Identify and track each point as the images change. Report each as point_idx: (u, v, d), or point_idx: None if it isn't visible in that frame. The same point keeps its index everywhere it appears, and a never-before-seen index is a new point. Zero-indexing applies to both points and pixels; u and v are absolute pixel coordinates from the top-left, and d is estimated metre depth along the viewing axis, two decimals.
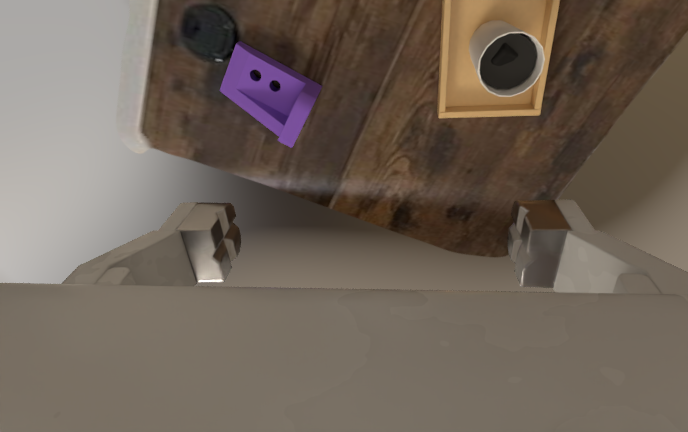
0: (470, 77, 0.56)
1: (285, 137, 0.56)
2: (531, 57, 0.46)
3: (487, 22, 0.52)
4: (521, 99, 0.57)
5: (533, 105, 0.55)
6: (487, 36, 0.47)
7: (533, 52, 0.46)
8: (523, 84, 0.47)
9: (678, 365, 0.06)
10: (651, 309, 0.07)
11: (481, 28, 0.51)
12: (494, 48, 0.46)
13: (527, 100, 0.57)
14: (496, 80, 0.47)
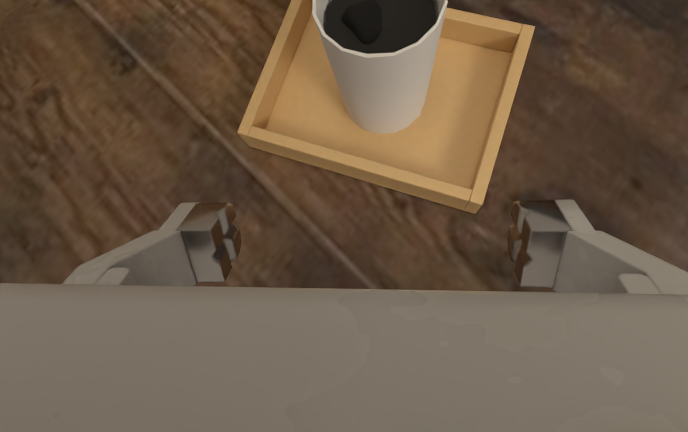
0: (426, 139, 0.30)
1: None
2: None
3: None
4: (498, 66, 0.30)
5: (512, 39, 0.29)
6: (328, 57, 0.24)
7: None
8: None
9: (678, 365, 0.06)
10: (651, 309, 0.07)
11: (343, 100, 0.30)
12: (343, 35, 0.23)
13: (504, 57, 0.31)
14: (409, 40, 0.22)
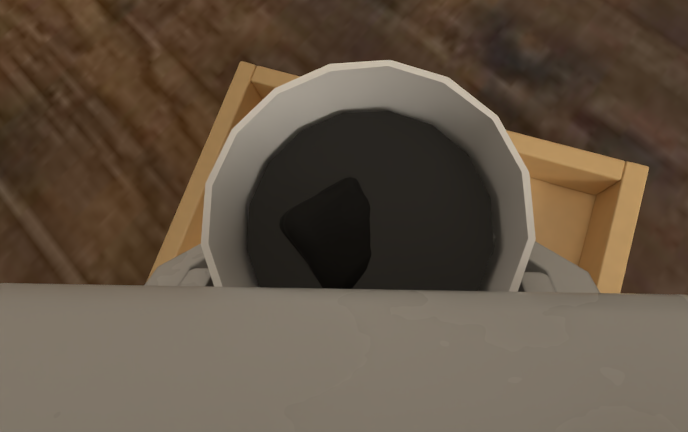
0: None
1: None
2: (383, 128, 0.10)
3: None
4: (574, 219, 0.18)
5: (605, 183, 0.16)
6: None
7: (365, 118, 0.11)
8: (493, 177, 0.10)
9: (678, 365, 0.06)
10: (651, 309, 0.07)
11: None
12: (284, 266, 0.10)
13: (582, 202, 0.18)
14: None
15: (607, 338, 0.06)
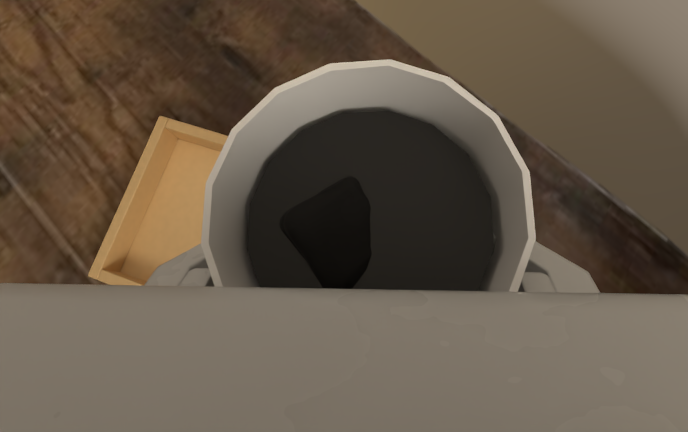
0: None
1: None
2: (383, 128, 0.10)
3: None
4: None
5: None
6: None
7: (365, 118, 0.11)
8: (493, 177, 0.10)
9: (678, 365, 0.06)
10: (651, 309, 0.07)
11: None
12: (284, 265, 0.10)
13: None
14: None
15: (607, 338, 0.06)
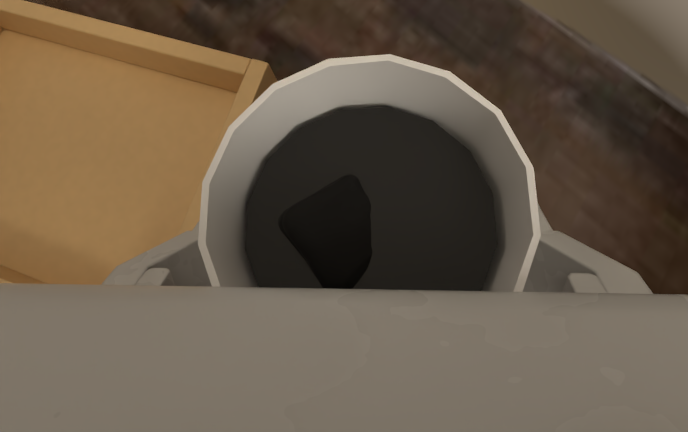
0: (122, 232, 0.20)
1: None
2: (383, 125, 0.10)
3: None
4: None
5: None
6: None
7: (365, 114, 0.10)
8: (495, 173, 0.10)
9: (678, 365, 0.06)
10: (651, 309, 0.07)
11: None
12: (283, 265, 0.10)
13: None
14: None
15: (607, 338, 0.06)
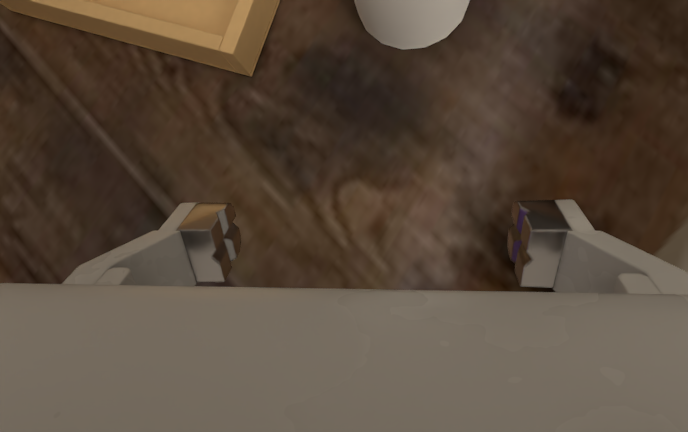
0: None
1: None
2: None
3: None
4: None
5: None
6: None
7: None
8: None
9: (678, 365, 0.06)
10: (651, 309, 0.07)
11: (355, 1, 0.21)
12: None
13: None
14: None
15: (607, 338, 0.06)
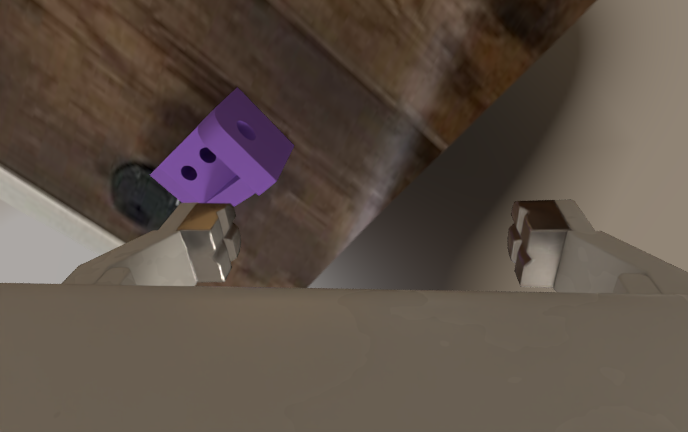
0: None
1: (256, 182, 0.34)
2: None
3: None
4: None
5: None
6: None
7: None
8: None
9: (678, 365, 0.06)
10: (651, 309, 0.07)
11: None
12: None
13: None
14: None
15: (607, 338, 0.06)
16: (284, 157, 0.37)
